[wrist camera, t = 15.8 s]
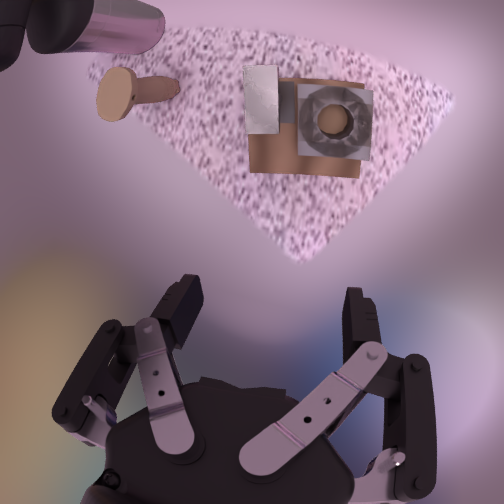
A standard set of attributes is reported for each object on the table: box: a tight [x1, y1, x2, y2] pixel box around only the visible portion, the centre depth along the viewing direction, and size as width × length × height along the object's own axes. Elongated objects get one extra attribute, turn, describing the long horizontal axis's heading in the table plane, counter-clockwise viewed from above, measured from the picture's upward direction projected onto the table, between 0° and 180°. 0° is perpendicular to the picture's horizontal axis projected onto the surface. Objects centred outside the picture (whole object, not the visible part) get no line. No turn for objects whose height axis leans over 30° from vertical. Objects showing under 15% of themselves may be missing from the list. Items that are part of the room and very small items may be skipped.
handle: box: [96, 67, 180, 122], centre depth 29 cm, size 5×6×15 cm
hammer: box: [243, 65, 282, 134], centre depth 27 cm, size 7×3×11 cm, turn 2°
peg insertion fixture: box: [248, 78, 373, 179], centre depth 33 cm, size 16×14×7 cm
